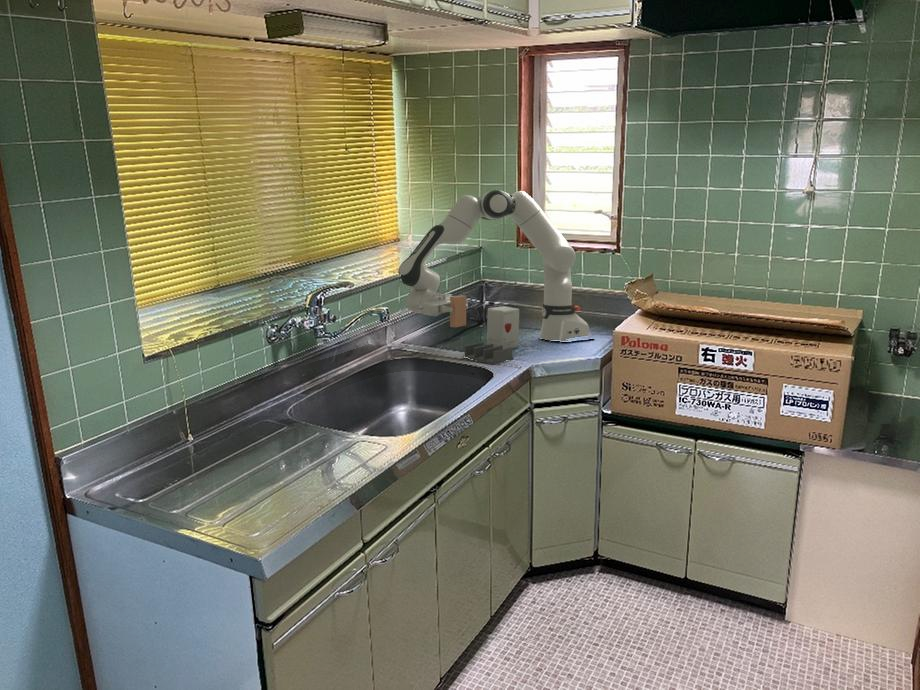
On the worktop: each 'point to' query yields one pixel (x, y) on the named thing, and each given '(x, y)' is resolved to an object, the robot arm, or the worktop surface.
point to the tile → (458, 311)
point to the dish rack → (488, 353)
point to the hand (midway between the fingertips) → (460, 308)
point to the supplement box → (503, 327)
